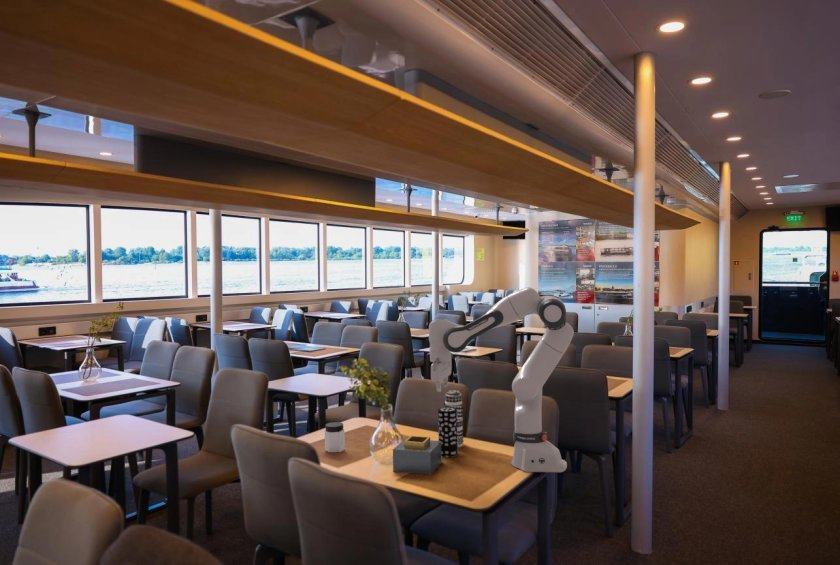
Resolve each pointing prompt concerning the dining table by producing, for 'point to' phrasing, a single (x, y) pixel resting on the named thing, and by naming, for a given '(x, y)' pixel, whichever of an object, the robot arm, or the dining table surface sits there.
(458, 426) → the black and white canister
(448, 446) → the spotted tube
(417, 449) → the blue-grey block
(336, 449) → the jar
